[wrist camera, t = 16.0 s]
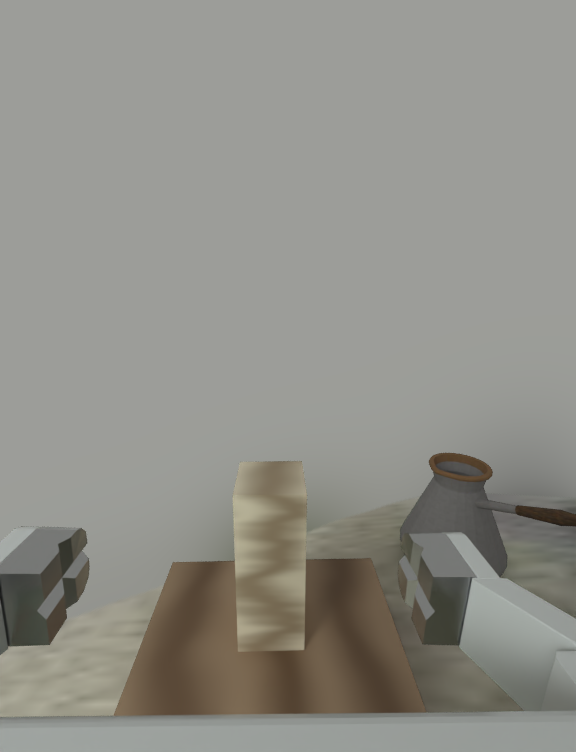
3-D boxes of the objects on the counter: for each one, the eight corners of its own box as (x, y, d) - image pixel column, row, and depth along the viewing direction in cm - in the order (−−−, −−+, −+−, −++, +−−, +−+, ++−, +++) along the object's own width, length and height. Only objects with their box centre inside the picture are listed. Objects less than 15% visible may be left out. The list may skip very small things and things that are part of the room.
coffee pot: (379, 544, 46) (386, 434, 43) (449, 525, 50) (461, 423, 47) (546, 726, 27) (583, 550, 23) (639, 672, 31) (682, 514, 27)
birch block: (237, 651, 27) (232, 495, 24) (243, 597, 32) (240, 461, 29) (304, 650, 27) (306, 494, 24) (300, 596, 32) (301, 461, 29)
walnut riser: (118, 783, 24) (110, 724, 22) (176, 604, 37) (172, 562, 36) (420, 771, 24) (426, 713, 23) (368, 599, 38) (370, 558, 37)
